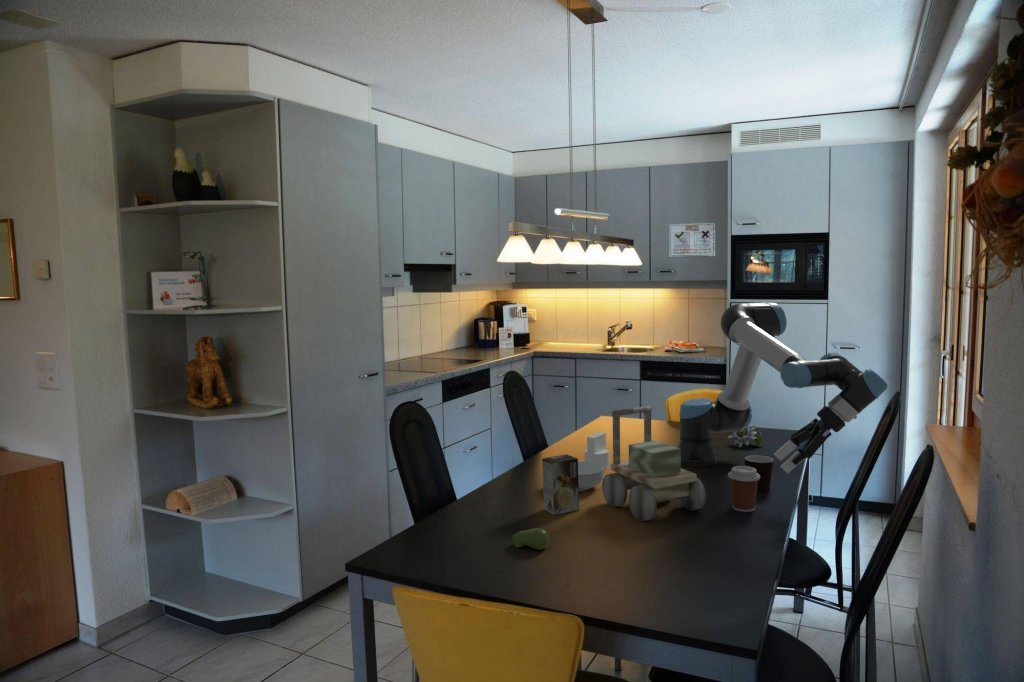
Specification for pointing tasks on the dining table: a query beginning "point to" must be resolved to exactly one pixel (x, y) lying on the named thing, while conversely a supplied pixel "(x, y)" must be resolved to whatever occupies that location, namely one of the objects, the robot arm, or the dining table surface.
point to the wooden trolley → (649, 473)
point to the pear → (531, 538)
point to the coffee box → (560, 484)
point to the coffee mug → (761, 470)
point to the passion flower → (746, 436)
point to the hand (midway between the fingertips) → (780, 463)
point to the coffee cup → (743, 487)
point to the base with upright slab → (597, 450)
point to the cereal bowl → (589, 475)
